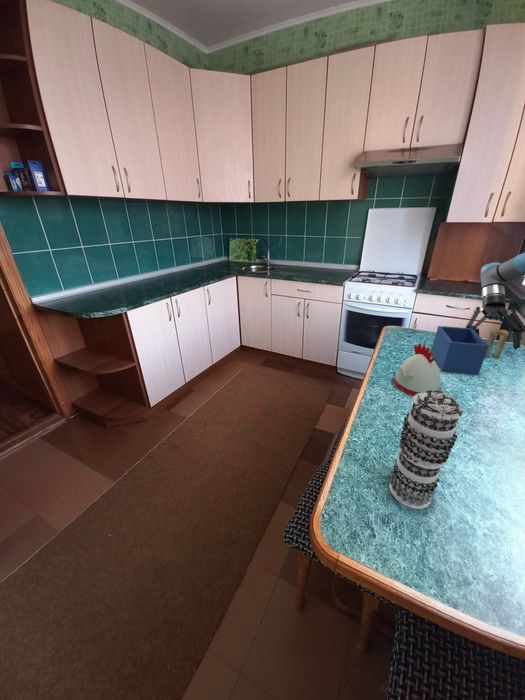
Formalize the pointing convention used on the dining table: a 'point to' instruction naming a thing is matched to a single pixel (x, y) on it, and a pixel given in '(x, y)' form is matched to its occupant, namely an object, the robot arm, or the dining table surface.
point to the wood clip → (500, 343)
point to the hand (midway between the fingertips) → (496, 346)
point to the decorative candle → (424, 447)
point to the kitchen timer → (418, 373)
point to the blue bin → (459, 350)
